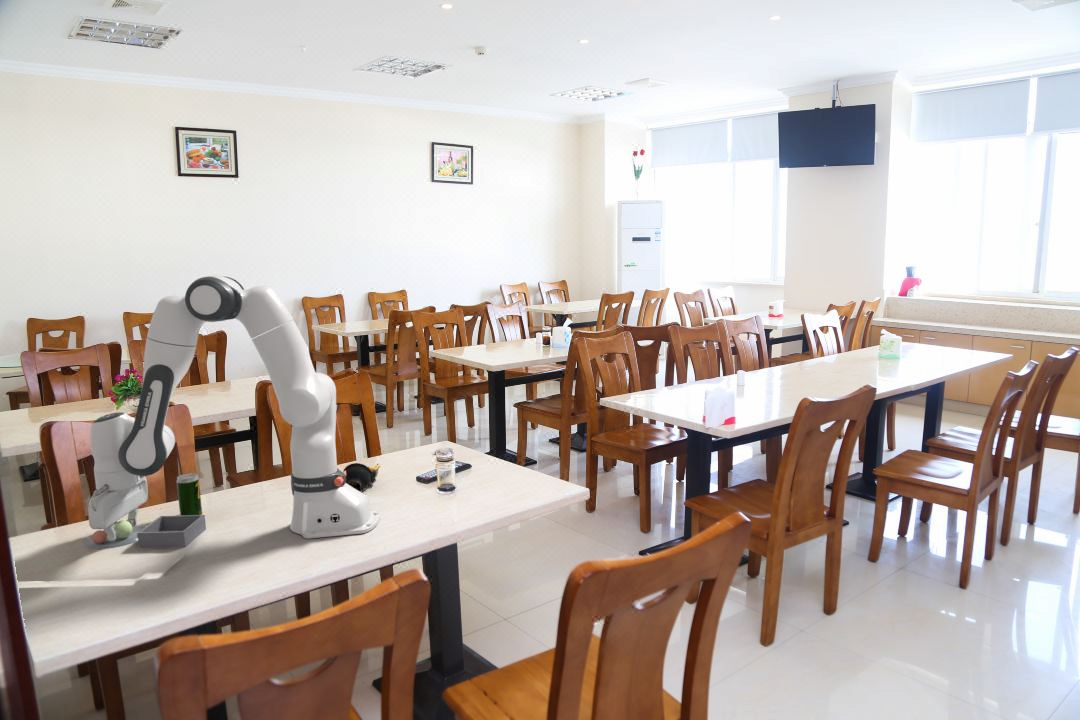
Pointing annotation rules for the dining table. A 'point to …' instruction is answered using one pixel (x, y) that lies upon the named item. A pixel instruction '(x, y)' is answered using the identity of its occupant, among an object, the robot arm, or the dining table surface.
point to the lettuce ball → (123, 529)
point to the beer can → (189, 494)
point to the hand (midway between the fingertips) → (122, 532)
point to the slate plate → (117, 542)
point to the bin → (171, 531)
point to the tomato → (99, 537)
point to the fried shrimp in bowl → (360, 475)
